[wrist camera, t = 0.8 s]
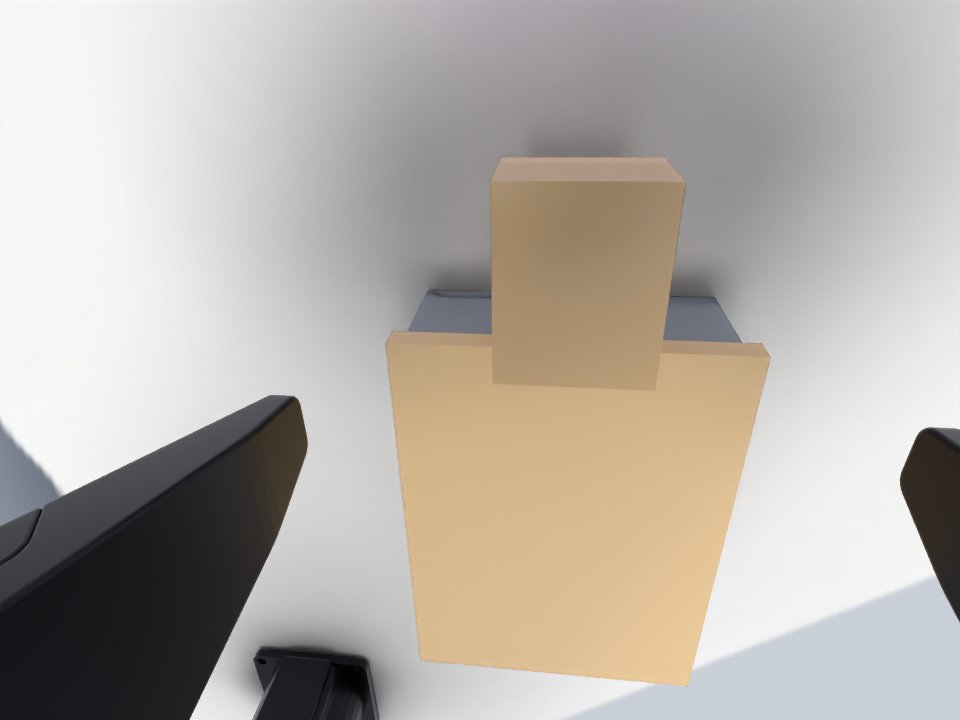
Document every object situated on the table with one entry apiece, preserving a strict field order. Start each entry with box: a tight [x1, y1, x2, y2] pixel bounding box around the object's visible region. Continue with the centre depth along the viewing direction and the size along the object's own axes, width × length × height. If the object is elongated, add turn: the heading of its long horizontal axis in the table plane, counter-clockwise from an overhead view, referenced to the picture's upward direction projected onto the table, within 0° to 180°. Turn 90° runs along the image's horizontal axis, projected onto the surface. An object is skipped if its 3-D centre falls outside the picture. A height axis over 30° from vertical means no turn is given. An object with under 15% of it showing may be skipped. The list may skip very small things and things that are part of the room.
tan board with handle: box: [385, 157, 770, 686], centre depth 18 cm, size 20×11×3 cm, turn 1°
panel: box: [407, 290, 742, 343], centre depth 22 cm, size 14×10×4 cm
